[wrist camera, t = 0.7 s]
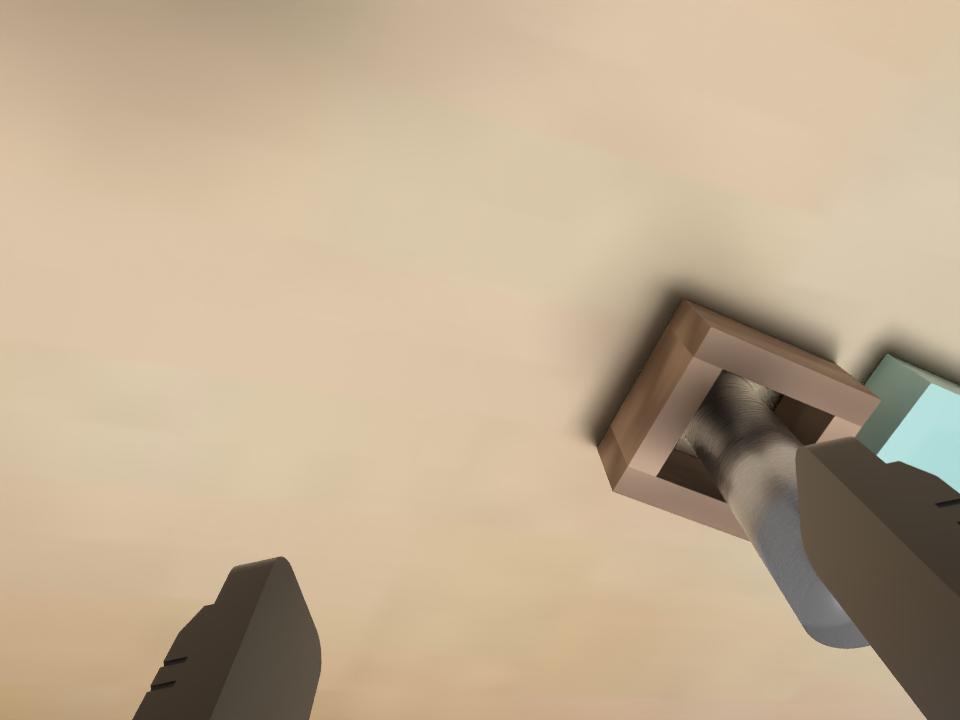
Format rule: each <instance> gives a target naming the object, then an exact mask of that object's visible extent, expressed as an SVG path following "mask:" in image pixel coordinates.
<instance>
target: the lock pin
mask: <svg viewBox="0 0 960 720" xmlns="http://www.w3.org/2000/svg"><path fill="white" fill-rule="evenodd" d="M683 433H684V434H685V436H686V437H687V439H688V441H689V442H690V444H691V446H692V447H693V449H694V450H695V452H696V454H697V455H698V457H699V459H700V460H701V462H702V463H703V465H704V467H705V468H706V470H707V471H708V473H709V475H710V476H711V478H712V480H713V481H714V483H715V484H716V486H717V488H718V489H719V491H720V493H721V494H722V496H723V497H724V499H725V501H726V502H727V504H728V506H729V507H730V509H731V510H732V512H733V514H734V515H735V517H736V519H737V520H738V522H739V523H740V525H741V527H742V528H743V530H744V531H745V533H746V535H747V536H748V538H749V540H750V541H751V543H752V544H753V546H754V548H755V549H756V551H757V553H758V554H759V556H760V557H761V559H762V561H763V562H764V564H765V566H766V567H767V569H768V570H769V572H770V574H771V575H772V577H773V579H774V580H775V582H776V583H777V585H778V587H779V588H780V590H781V591H782V593H783V595H784V596H785V598H786V600H787V601H788V603H789V604H790V606H791V608H792V609H793V611H794V613H795V614H796V616H797V617H798V619H799V621H800V622H801V624H802V626H803V627H804V629H805V630H806V632H807V633H808V634H809V635H810V636H811V637H812V638H813V639H814V640H816V641H818V642H819V643H821V644H824V645H826V646H830V647H834V648H843V649H850V648H860V647H865V646H869V645H870V644H869V643H868V641H867V640H866V639H865V637H864V636H863V635H862V633H861V632H860V631H859V630H858V628H857V627H856V626H855V624H854V623H853V622H852V620H851V619H850V618H849V616H848V615H847V614H846V612H845V611H844V610H843V609H842V607H841V606H840V605H839V603H838V602H837V601H836V599H835V598H834V597H833V595H832V594H831V593H830V592H829V590H828V589H827V588H826V586H825V585H824V584H823V582H822V581H821V580H820V578H819V577H818V576H817V574H816V573H815V571H814V570H813V568H812V566H811V564H810V562H809V559H808V557H807V555H806V552H805V549H804V546H803V542H802V537H801V530H800V517H799V504H798V490H797V477H796V464H795V457H796V451H797V449H798V448H799V447H802V446H804V445H803V444H802V443H801V442H800V441H799V440H798V439H797V438H796V437H795V436H794V435H793V433H792V432H791V431H790V430H789V429H788V428H787V427H786V426H785V425H784V424H783V422H782V421H781V420H780V419H779V418H778V417H777V416H776V415H775V414H774V413H773V412H772V410H771V409H770V408H769V407H768V406H767V405H766V404H765V403H764V402H763V401H762V399H761V398H760V397H759V396H758V395H757V394H756V393H755V392H754V391H753V390H752V389H751V387H750V386H749V385H748V384H747V383H746V382H745V381H744V380H743V379H742V378H740V377H739V376H737V375H735V374H732V373H728V372H721V373H720V374H719V376H718V378H717V379H716V381H715V382H714V384H713V386H712V387H711V389H710V390H709V392H708V394H707V395H706V397H705V399H704V400H703V402H702V403H701V405H700V407H699V408H698V410H697V411H696V413H695V415H694V416H693V418H692V419H691V421H690V423H689V424H688V426H687V427H686V429H685V431H684V432H683Z"/></svg>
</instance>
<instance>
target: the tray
mask: <svg viewBox="0 0 960 720" xmlns="http://www.w3.org/2000/svg"><path fill="white" fill-rule="evenodd" d="M864 386H865V387H866V388H867V389H869V390H870V391H871V392H872V393H874V394H875V395H876V396H878V397H879V398H880V399H881V400H882V401H881V402H880V403H879V405H878V406H877V407H876V409H875V410H874V411H873V413H872V414H871V416H870V417H869V418H868V420H867V421H866V422H865V424H864V425H863V426H862V428H861V429H860V431H859V432H858V433H857V435H856V436H855V437H854V438H856V439H857V440H859V441H860V442H861V443H862V444H863V445H865V446H866V447H867V448H868V449H869V450H871V451H872V452H873V453H874V454H875V455H877V456H878V457H879V458H880V459H881V460H883V461H884V462H885V463H891V462H896V461H901V462H903V463H906V464H908V465H911V466H913V467H916V468H918V469H921V470H923V471H926V472H928V473H931V474H933V475H936V476H938V477H939V478H940V479H942V480H943V481H944V482H946V483H947V484H948V485H949V486H951V487H952V488H953V489H955V490H956V491H957V492H958V493H960V386H959V385H957V384H955V383H952V382H950V381H948V380H946V379H943V378H941V377H939V376H937V375H934V374H932V373H930V372H928V371H925V370H923V369H921V368H919V367H916V366H914V365H912V364H910V363H907V362H905V361H903V360H901V359H898V358H896V357H894V356H892V355H889V354H886V355H885V357H884V358H883V359H882V361H881V362H880V364H879V365H878V366H877V368H876V369H875V371H874V372H873V373H872V375H871V376H870V378H869V379H868V380H867V382H866V383H865V385H864Z"/></svg>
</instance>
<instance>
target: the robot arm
mask: <svg viewBox="0 0 960 720" xmlns="http://www.w3.org/2000/svg"><path fill="white" fill-rule="evenodd" d="M795 464H796V477H797V490H798V504H799V517H800V530H801V537H802V542H803V546H804V549H805V552H806V555H807V557H808V559H809V562H810V564H811V566H812V568H813V570H814V571H815V573H816V574H817V576H818V577H819V578H820V580H821V581H822V582H823V584H824V585H825V586H826V588H827V589H828V590H829V592H830V593H831V594H832V595H833V597H834V598H835V599H836V601H837V602H838V603H839V605H840V606H841V607H842V609H843V610H844V611H845V612H846V614H847V615H848V616H849V618H850V619H851V620H852V622H853V623H854V624H855V626H856V627H857V628H858V630H859V631H860V632H861V633H862V635H863V636H864V637H865V639H866V640H867V641H868V643H869V644H870V645H871V647H872V648H873V649H874V650H875V652H876V653H877V654H878V656H879V657H880V658H881V660H882V661H883V662H884V664H885V665H886V666H887V667H888V669H889V670H890V671H891V673H892V674H893V675H894V677H895V678H896V679H897V681H898V682H899V683H900V685H901V686H902V687H903V688H904V690H905V691H906V692H907V694H908V695H909V696H910V698H911V699H912V700H913V702H914V703H915V704H916V705H917V707H918V708H919V709H920V711H921V712H922V713H923V715H924V716H925V717H926V719H927V720H960V493H958V492H957V491H956V490H955V489H953V488H952V487H951V486H949V485H948V484H947V483H946V482H944V481H943V480H942V479H940V478H939V477H938V476H936V475H933V474H931V473H928V472H926V471H923V470H921V469H918V468H916V467H913V466H911V465H908V464H906V463H903V462H901V461H896V462H891V463H885V462H884V461H883V460H881V459H880V458H879V457H878V456H877V455H875V454H874V453H873V452H872V451H871V450H869V449H868V448H867V447H866V446H865V445H863V444H862V443H861V442H860V441H859V440H857V439H856V438H854V437H850V436H848V437H844V438H839V439H834V440H830V441H825V442H820V443H816V444H811V445H806V446H802V447H799V448H798V449H797V451H796V457H795ZM320 672H321V647H320V641H319V637H318V633H317V630H316V627H315V625H314V622H313V620H312V617H311V615H310V612H309V610H308V607H307V605H306V602H305V600H304V597H303V595H302V592H301V590H300V587H299V585H298V582H297V580H296V577H295V575H294V572H293V570H292V567H291V565H290V563H289V562H288V561H287V559H285V558H284V557H276V558H272V559H267V560H262V561H258V562H253V563H248V564H244V565H239V566H236V567H234V568H233V569H232V570H231V571H230V573H229V575H228V577H227V579H226V581H225V583H224V585H223V587H222V589H221V591H220V593H219V595H218V597H217V599H216V601H215V603H214V604H212V605H207V606H204V607H203V608H202V609H201V610H200V611H199V612H198V613H197V615H196V616H195V617H194V618H193V619H192V620H191V621H190V622H189V623H188V624H187V625H186V626H185V627H184V628H183V629H182V630H181V631H180V632H179V634H178V635H177V637H176V639H175V641H174V643H173V645H172V647H171V648H170V650H169V652H168V654H167V656H166V658H165V660H164V667H160V669H159V671H158V673H157V675H156V676H155V678H154V680H153V682H152V684H151V691H150V692H147V693H146V695H145V697H144V699H143V701H142V703H141V704H140V706H139V708H138V710H137V712H136V714H135V716H134V718H133V719H132V720H309V717H310V713H311V709H312V705H313V701H314V697H315V693H316V689H317V685H318V681H319V677H320Z"/></svg>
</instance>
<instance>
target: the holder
mask: <svg viewBox="0 0 960 720" xmlns="http://www.w3.org/2000/svg"><path fill="white" fill-rule="evenodd" d="M723 369H724V370H726V371H729V372H731V373H733V374H736V375H738V376H741V377H743V378H745V379H748V380H750V381H753V382H755V383H757V384H760V385H762V386H765V387H767V388H769V389H772V390H774V391H777V392H779V393H781V394H784V396H783V398H782V399H781V401H780V402H779V404H778V405H777V407H776V408H775V410H774V411H773V413H774V414H775V415H776V416H777V417H778V418H779V419H780V420H781V421H782V422H783V424H784V425H785V426H786V427H787V428H788V429H789V430H790V431H791V432H792V433H793V435H794V436H795V437H796V438H797V439H798V440H799V441H800V442H801V443H802V444H803V445H804V446H806V445H811V444H816V443H820V442H825V441H830V440H834V439H839V438H844V437H848V436H850V437H855V436H856V435H857V433H858V432H859V431H860V429H861V428H862V426H863V425H864V424H865V422H866V421H867V420H868V418H869V417H870V416H871V414H872V413H873V411H874V410H875V409H876V407H877V406H878V405H879V403H880V402H881V401H882V400H881V399H880V398H879V397H878V396H876V395H875V394H874V393H872V392H871V391H870V390H869V389H867V388H866V387H865V386H863V385H862V384H861V383H860V382H858V381H857V380H856V379H855V378H853V377H852V376H851V375H849V374H848V373H847V372H846V371H844V370H843V369H842V368H841V367H839V366H838V365H837V364H834V363H832V362H830V361H827V360H825V359H823V358H820V357H818V356H816V355H814V354H811V353H809V352H807V351H804V350H802V349H800V348H797V347H795V346H793V345H790V344H788V343H786V342H783V341H781V340H779V339H777V338H774V337H772V336H770V335H767V334H765V333H763V332H760V331H758V330H756V329H753V328H751V327H749V326H746V325H744V324H742V323H740V322H737V321H735V320H733V319H730V318H728V317H726V316H723V315H721V314H719V313H716V312H714V311H712V310H709V309H707V308H705V307H702V306H700V305H698V304H696V303H693V302H691V301H689V300H686V299H684V298H683V299H682V300H681V302H680V304H679V306H678V307H677V309H676V311H675V313H674V314H673V316H672V318H671V320H670V321H669V323H668V325H667V327H666V328H665V330H664V332H663V334H662V335H661V337H660V339H659V341H658V342H657V344H656V346H655V348H654V349H653V351H652V353H651V355H650V356H649V358H648V360H647V362H646V363H645V365H644V367H643V369H642V370H641V372H640V374H639V376H638V377H637V379H636V381H635V383H634V384H633V386H632V388H631V390H630V391H629V393H628V395H627V397H626V398H625V400H624V402H623V404H622V405H621V407H620V409H619V411H618V412H617V414H616V416H615V418H614V419H613V421H612V423H611V425H610V426H609V428H608V430H607V432H606V433H605V435H604V437H603V439H602V440H601V442H600V444H599V445H598V447H597V450H598V452H599V455H600V458H601V461H602V463H603V466H604V469H605V471H606V474H607V477H608V480H609V482H610V485H611V488H612V491H613V492H616V493H618V494H621V495H624V496H627V497H629V498H632V499H635V500H638V501H640V502H643V503H646V504H649V505H651V506H654V507H657V508H660V509H662V510H665V511H668V512H670V513H673V514H676V515H679V516H681V517H684V518H687V519H690V520H692V521H695V522H698V523H701V524H703V525H706V526H709V527H712V528H714V529H717V530H720V531H723V532H725V533H728V534H731V535H734V536H736V537H739V538H742V539H745V540H747V541H750V540H749V538H748V536H747V535H746V533H745V531H744V530H743V528H742V527H741V525H740V523H739V522H738V520H737V519H736V517H735V515H734V514H733V512H732V510H731V509H730V507H729V506H728V504H727V502H726V501H725V499H724V497H723V496H722V494H721V493H720V491H719V489H718V488H717V486H716V484H715V483H714V481H713V480H712V478H711V476H710V475H709V473H708V471H707V470H706V468H705V467H704V465H703V463H702V462H701V460H700V459H697V458H695V457H692V456H690V455H687V454H684V453H682V452H679V451H677V450H674V449H673V448H674V447H675V445H676V444H677V442H678V440H679V439H680V437H681V436H682V434H683V432H684V431H685V429H686V427H687V426H688V424H689V423H690V421H691V419H692V418H693V416H694V415H695V413H696V411H697V410H698V408H699V407H700V405H701V403H702V402H703V400H704V399H705V397H706V395H707V394H708V392H709V390H710V389H711V387H712V386H713V384H714V382H715V381H716V379H717V378H718V376H719V374H720V373H721V371H722V370H723ZM750 542H751V541H750Z"/></svg>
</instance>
